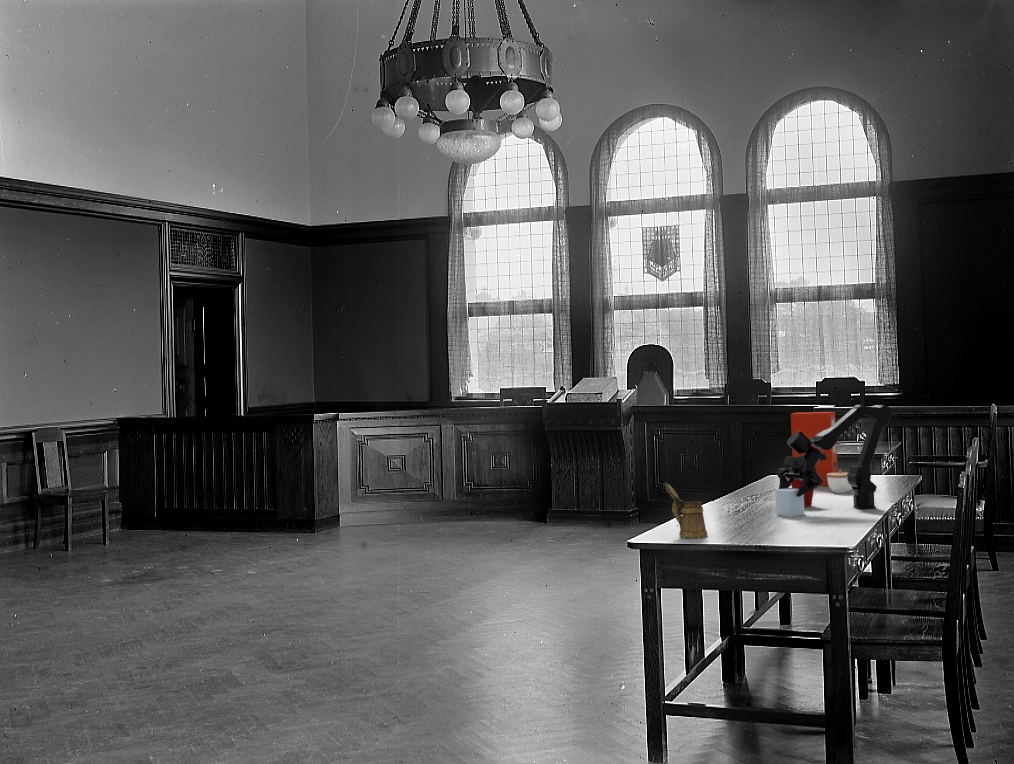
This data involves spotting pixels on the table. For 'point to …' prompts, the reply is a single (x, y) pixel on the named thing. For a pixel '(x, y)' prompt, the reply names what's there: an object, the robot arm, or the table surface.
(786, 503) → the light blue block
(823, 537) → the table surface
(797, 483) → the plastic cup
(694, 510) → the wooden mug
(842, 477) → the lidded jar
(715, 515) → the table surface
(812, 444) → the robot arm
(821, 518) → the mat
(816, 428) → the file binder
